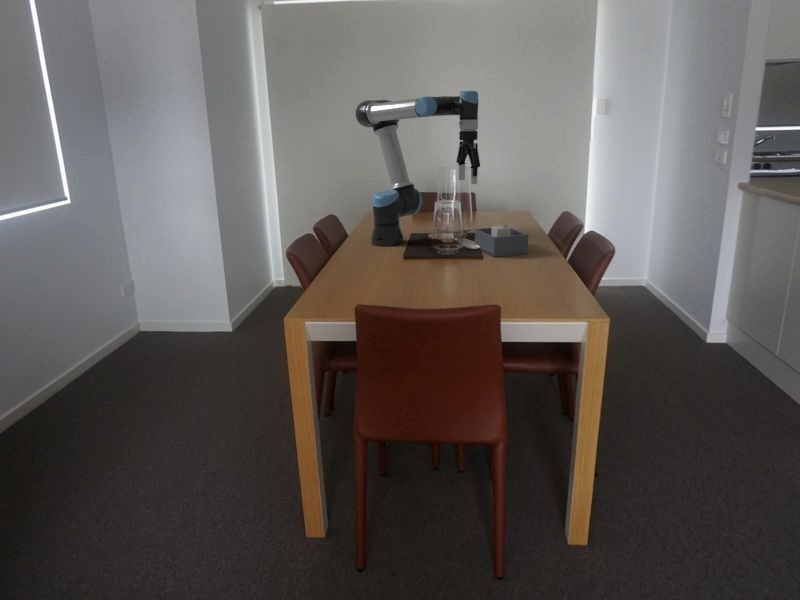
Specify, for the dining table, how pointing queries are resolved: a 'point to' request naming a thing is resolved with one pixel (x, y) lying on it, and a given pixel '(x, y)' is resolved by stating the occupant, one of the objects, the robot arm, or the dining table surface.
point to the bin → (502, 243)
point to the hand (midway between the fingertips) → (467, 182)
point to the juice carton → (500, 231)
